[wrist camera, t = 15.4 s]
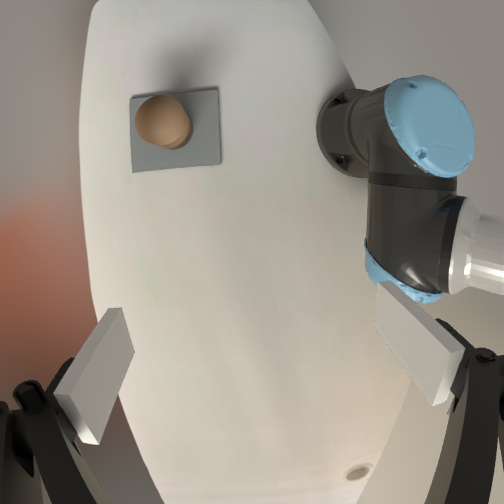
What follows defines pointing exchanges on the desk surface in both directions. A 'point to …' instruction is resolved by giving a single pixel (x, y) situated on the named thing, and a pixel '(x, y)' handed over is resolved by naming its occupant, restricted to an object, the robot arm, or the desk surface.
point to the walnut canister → (163, 122)
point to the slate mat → (196, 150)
